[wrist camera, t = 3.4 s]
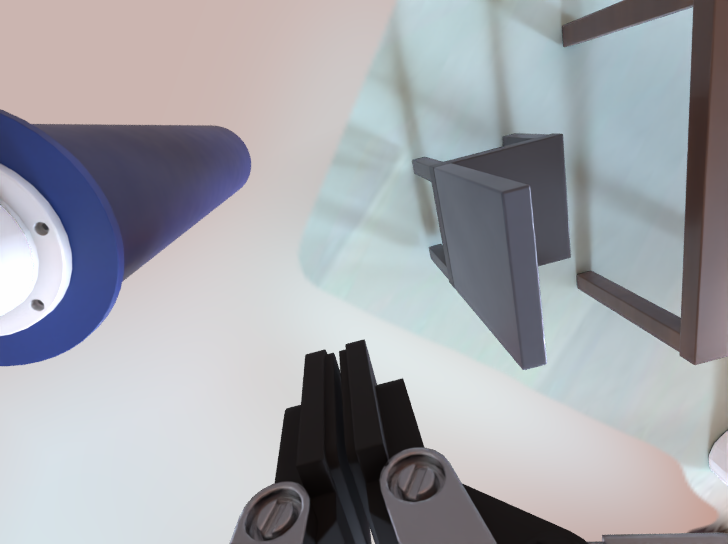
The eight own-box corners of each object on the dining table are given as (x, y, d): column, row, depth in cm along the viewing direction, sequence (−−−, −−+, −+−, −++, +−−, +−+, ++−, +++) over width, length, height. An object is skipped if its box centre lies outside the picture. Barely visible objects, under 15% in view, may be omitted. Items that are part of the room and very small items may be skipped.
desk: (575, 290, 31) (694, 365, 21) (559, 24, 25) (717, -43, 15) (727, 249, 31) (914, 306, 21) (748, -24, 25) (1027, -122, 15)
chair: (430, 259, 29) (522, 371, 16) (410, 159, 26) (501, 192, 13) (526, 234, 29) (698, 324, 16) (515, 132, 26) (709, 138, 13)
